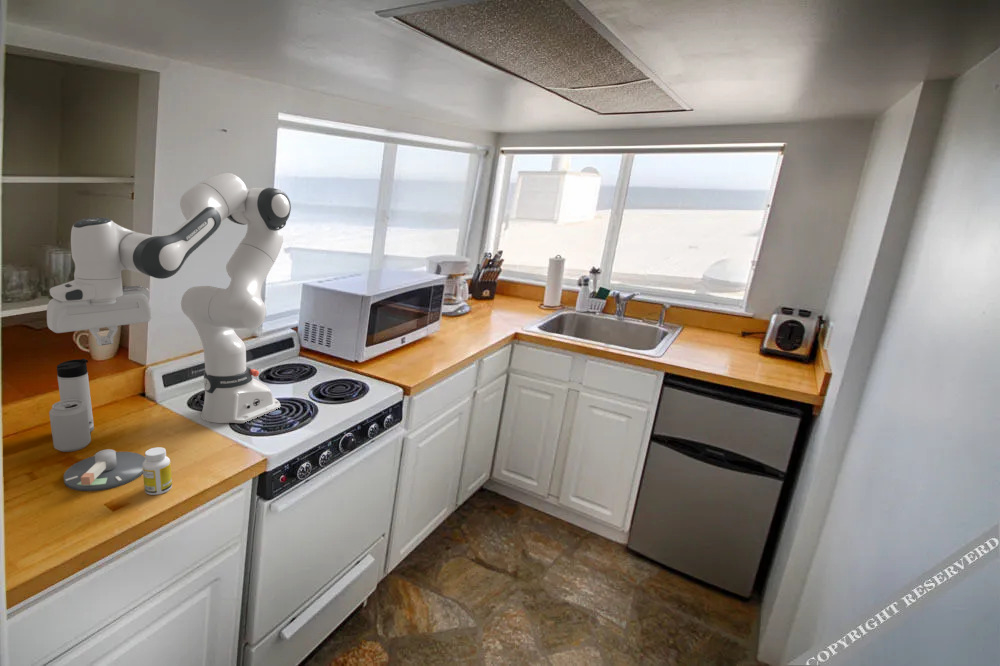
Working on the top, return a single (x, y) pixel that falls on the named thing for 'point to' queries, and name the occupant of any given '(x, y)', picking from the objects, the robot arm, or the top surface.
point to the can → (70, 425)
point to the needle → (100, 465)
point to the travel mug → (75, 384)
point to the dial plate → (106, 472)
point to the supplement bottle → (156, 471)
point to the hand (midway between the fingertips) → (105, 344)
